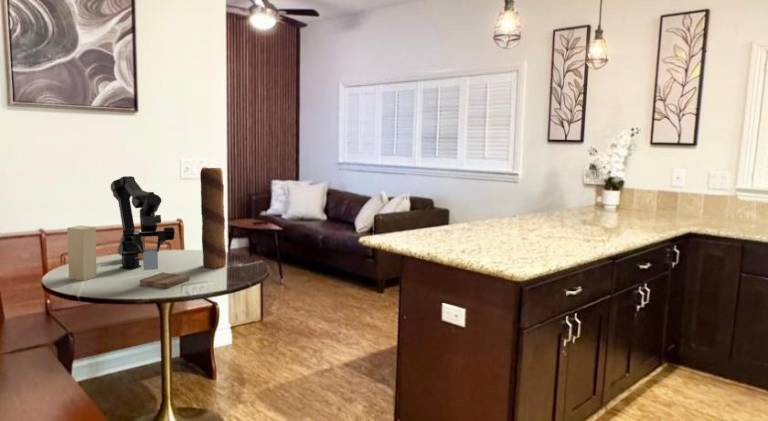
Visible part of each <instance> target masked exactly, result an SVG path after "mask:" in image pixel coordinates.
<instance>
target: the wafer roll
mask: <svg viewBox="0 0 768 421" xmlns="http://www.w3.org/2000/svg"><path fill="white" fill-rule="evenodd" d="M223 175H224V174H223V170H222V168H221V167H201V169H200V175H199V176H200V201H201V202H200V210H201V213H200V214H201V222H202V224H201V225H202V226H201V245H202V246H201V248H202V249H201V250H202V264H203V267H204V268H207V269H221V268H223V267H225V266H226V265H227V252H226V241H225V240H226V238H225V228H226V227H225V225H226V224H225V223H226V222H225V220H226V218H225V206H224V204H225V203H224V195H225V193H224V192H225V191H224V188H225V186H224V178H223Z"/></svg>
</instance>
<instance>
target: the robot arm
mask: <svg viewBox="0 0 768 421" xmlns="http://www.w3.org/2000/svg"><path fill="white" fill-rule="evenodd" d="M110 191H111V192H112V196H113V197H114V198H115V200H117V202H118V207H119V214H120V220H121V226H122V235H121V237H120V242H119V245H118V248H117V253H118V255H119V256H121V266H119V267H118V268H119V269H127V270H133V269H136V268H140V267H142V265H141V264H140V260H139V257H138V253H143V252H144V251H143V243H142V240H141V237H145V238H152V237H153V238H154V237H155V238H156V237H157V243H156V244H157V246H156V249H157V251H158V253H159V252H160V249H161V246H162V244H163V243H165V242H166V241H172V240H174V239H175V234H176V233H175V230H176V229H175V227H173V226H169V227H168V226H165V227H163V229H162V230H158V224H161V223H162V217H161V215H162V214H156V213H157V211H158V210H159V207H160V206H161V204H162V197H160V196H159V195H158V194H156V193H155V192H154V191H146V190H143V189H142V188H141V187H140V185H139V184H138V183H137V181H136V179H135V177H134V176H132V175H131V176H129V175H128V176H126V175H125V176H121V177H120V178H117V179H115V180H113V181H112V182H111V184H110ZM131 204H132V205H131ZM132 206H133V207H134V208H135V209H139V224H140V230H136V229H135V223H134V222H135V221H134V217H133V211H132ZM139 231H141V232H139Z"/></svg>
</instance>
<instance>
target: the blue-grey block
mask: <svg viewBox="0 0 768 421" xmlns="http://www.w3.org/2000/svg"><path fill="white" fill-rule="evenodd" d="M143 251H144V252H143V259H142V262H143V264H142V266H143V271H151V270H159V258H158V257H159V255H158V253H159V252H158V251H157V248H154V249H153V248H151V249H150V248H149V249H145V250H143Z"/></svg>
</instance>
